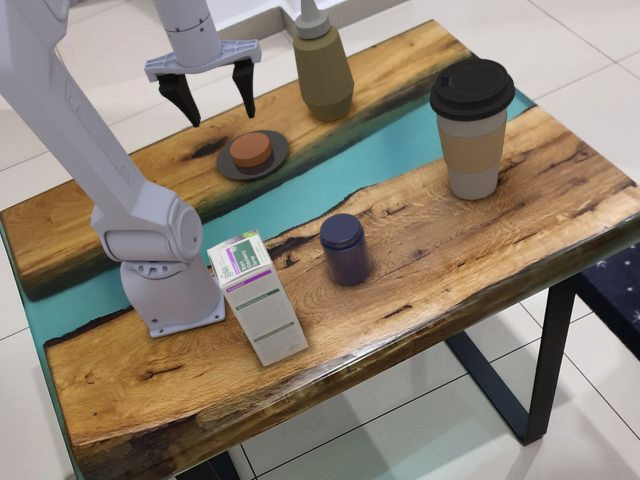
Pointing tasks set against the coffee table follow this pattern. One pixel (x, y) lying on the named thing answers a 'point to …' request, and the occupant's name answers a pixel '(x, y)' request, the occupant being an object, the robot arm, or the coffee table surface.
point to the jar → (345, 249)
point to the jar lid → (251, 149)
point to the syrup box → (257, 297)
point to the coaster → (259, 171)
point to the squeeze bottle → (322, 64)
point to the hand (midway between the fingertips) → (224, 118)
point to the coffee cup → (472, 123)
